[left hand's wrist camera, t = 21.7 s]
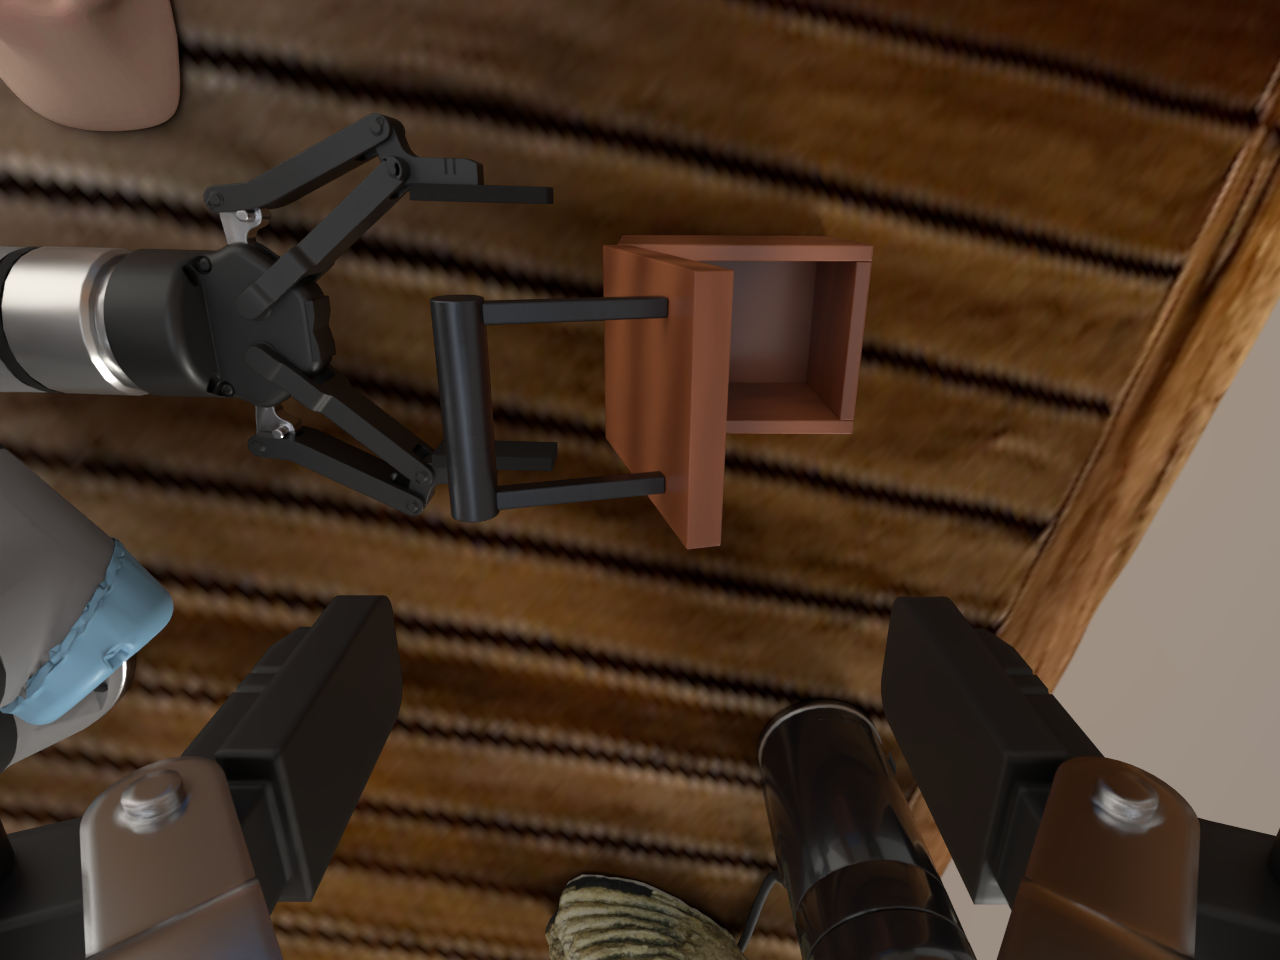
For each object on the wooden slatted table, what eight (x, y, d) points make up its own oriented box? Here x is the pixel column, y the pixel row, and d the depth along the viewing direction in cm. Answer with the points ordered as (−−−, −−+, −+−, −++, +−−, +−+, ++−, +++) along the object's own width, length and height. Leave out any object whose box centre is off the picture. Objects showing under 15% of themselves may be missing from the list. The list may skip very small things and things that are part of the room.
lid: (734, 269, 22) (426, 276, 20) (721, 546, 26) (456, 578, 23) (629, 244, 34) (427, 247, 32) (629, 436, 37) (447, 451, 35)
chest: (828, 235, 43) (874, 244, 34) (814, 391, 46) (852, 434, 38) (621, 234, 43) (616, 243, 34) (622, 390, 46) (618, 433, 38)
